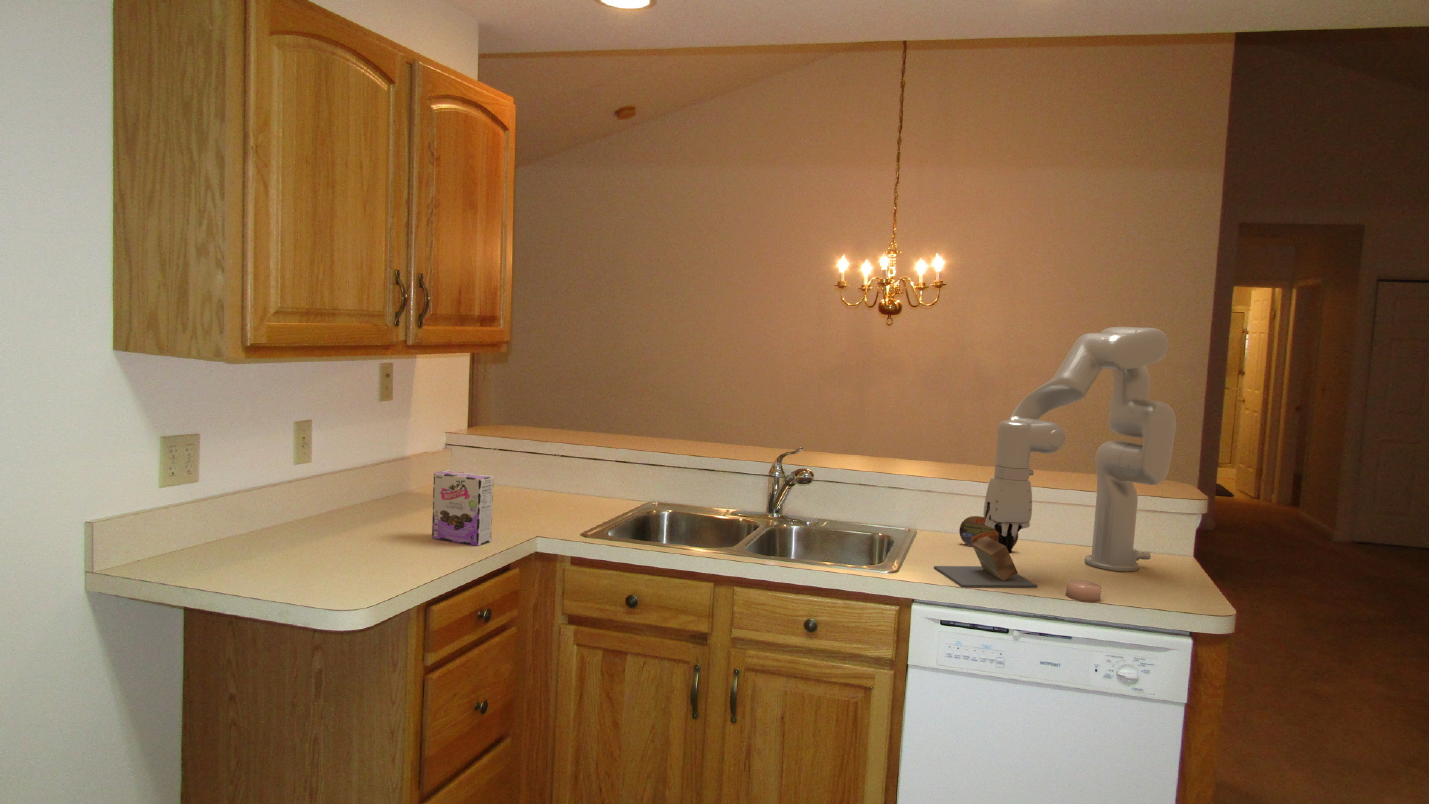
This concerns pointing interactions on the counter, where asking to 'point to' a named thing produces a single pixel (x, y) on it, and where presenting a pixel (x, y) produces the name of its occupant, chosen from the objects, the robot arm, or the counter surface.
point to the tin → (978, 531)
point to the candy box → (462, 507)
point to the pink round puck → (1083, 591)
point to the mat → (981, 578)
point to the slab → (995, 558)
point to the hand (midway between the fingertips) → (1005, 551)
